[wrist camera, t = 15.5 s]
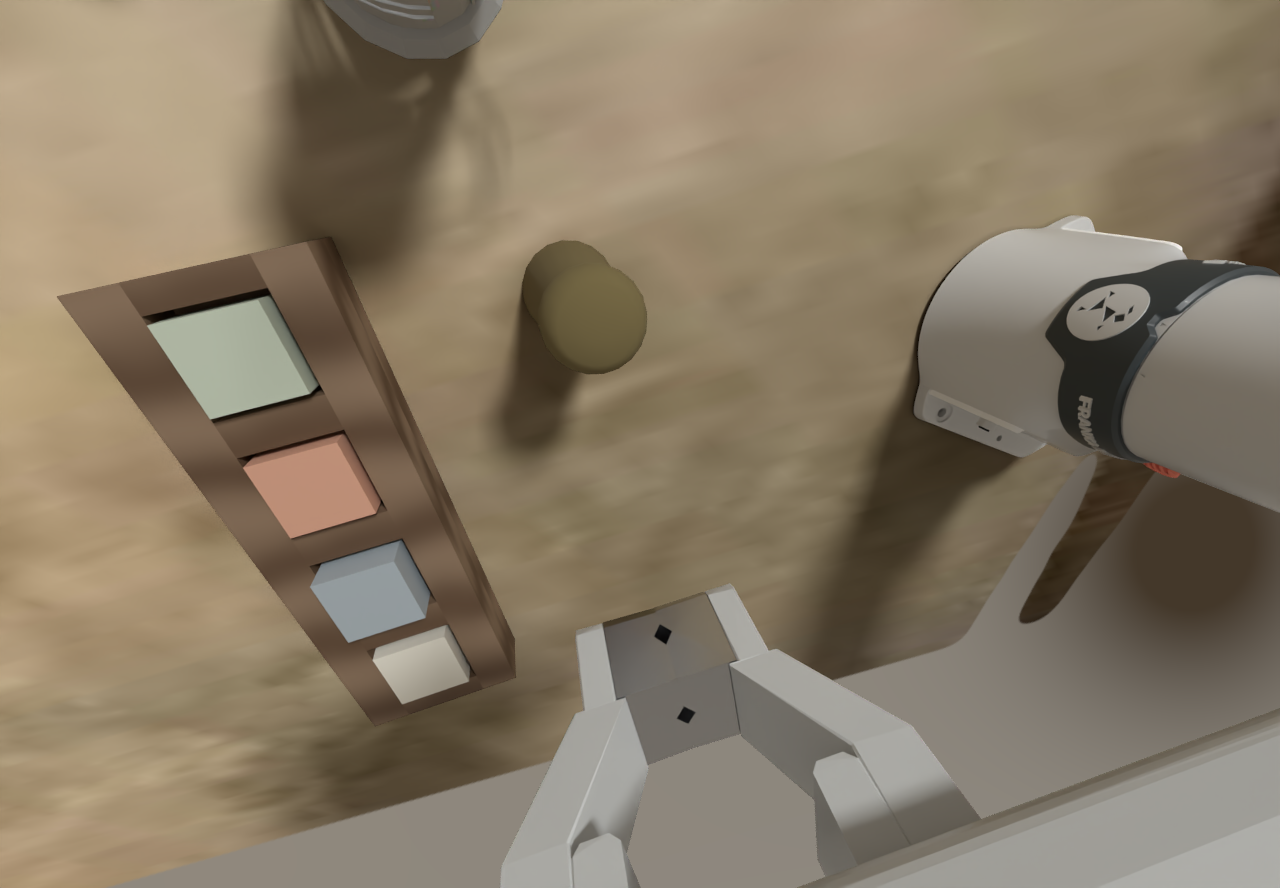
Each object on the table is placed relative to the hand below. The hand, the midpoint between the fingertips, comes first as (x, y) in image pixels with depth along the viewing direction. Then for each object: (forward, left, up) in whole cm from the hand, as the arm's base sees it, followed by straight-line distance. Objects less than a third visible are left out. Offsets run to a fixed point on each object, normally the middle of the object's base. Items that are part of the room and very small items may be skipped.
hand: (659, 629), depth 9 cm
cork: (0, -3, -27) cm, 27 cm away
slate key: (+2, +20, -23) cm, 31 cm away
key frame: (+5, +17, -27) cm, 32 cm away
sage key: (+13, +9, -24) cm, 29 cm away
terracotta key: (+8, +14, -24) cm, 29 cm away
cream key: (-4, +26, -24) cm, 36 cm away
